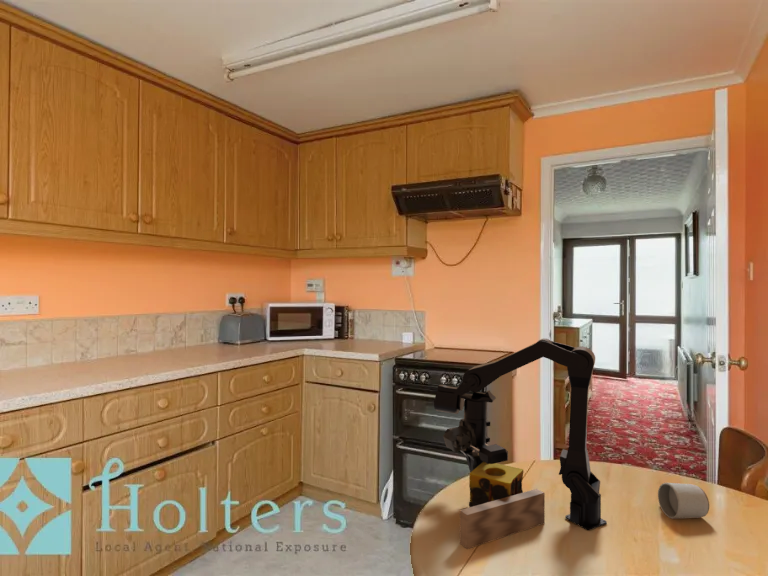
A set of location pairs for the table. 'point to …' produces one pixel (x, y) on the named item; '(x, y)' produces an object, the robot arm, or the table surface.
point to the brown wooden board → (501, 518)
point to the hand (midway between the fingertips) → (473, 477)
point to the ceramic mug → (683, 500)
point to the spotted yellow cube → (494, 483)
